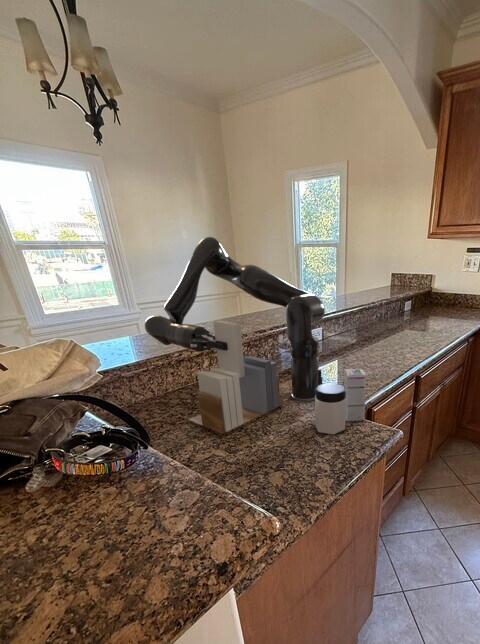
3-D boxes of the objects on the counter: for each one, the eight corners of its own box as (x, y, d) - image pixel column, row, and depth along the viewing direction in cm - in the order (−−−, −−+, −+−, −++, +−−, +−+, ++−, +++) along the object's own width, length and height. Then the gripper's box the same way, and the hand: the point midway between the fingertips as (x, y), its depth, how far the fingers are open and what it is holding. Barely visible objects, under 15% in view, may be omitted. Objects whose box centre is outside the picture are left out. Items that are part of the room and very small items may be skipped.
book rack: (248, 396, 121) (245, 366, 116) (281, 407, 113) (280, 375, 108) (188, 421, 103) (182, 387, 98) (222, 436, 95) (218, 399, 91)
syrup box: (364, 420, 105) (367, 374, 99) (345, 421, 104) (346, 374, 98) (361, 412, 110) (363, 368, 104) (342, 413, 109) (344, 368, 103)
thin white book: (224, 370, 108) (218, 320, 101) (245, 376, 103) (240, 324, 97) (219, 371, 106) (213, 321, 100) (240, 377, 102) (234, 325, 95)
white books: (222, 415, 105) (216, 366, 99) (243, 423, 101) (238, 372, 94) (204, 423, 100) (196, 372, 94) (226, 432, 96) (219, 379, 89)
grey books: (258, 399, 116) (254, 353, 110) (278, 406, 112) (276, 358, 105) (241, 407, 111) (236, 359, 104) (262, 414, 106) (258, 364, 99)
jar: (347, 433, 98) (349, 393, 92) (319, 436, 96) (319, 395, 91) (339, 419, 105) (341, 381, 100) (313, 421, 104) (312, 383, 99)
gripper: (170, 328, 103) (208, 337, 94) (208, 321, 113) (246, 328, 104) (174, 353, 106) (212, 364, 97) (211, 344, 116) (249, 353, 108)
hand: (230, 345), depth 101 cm, fingers closed on thin white book, 2 cm apart
